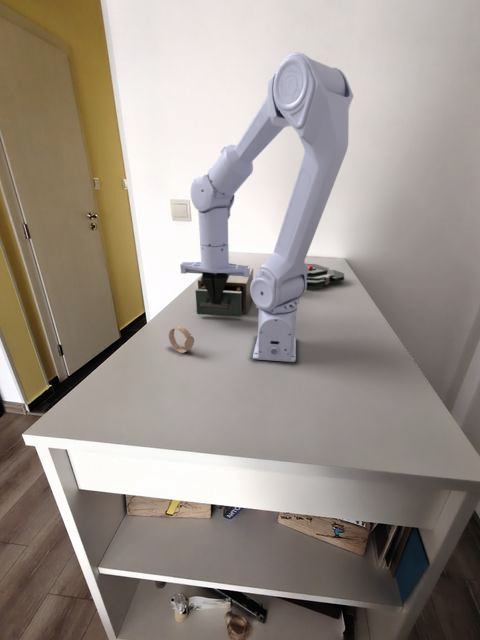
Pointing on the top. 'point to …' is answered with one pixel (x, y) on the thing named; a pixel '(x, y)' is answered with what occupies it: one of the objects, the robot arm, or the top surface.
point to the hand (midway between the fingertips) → (216, 306)
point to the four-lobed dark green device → (322, 275)
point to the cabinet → (239, 282)
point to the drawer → (229, 302)
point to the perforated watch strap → (188, 341)
